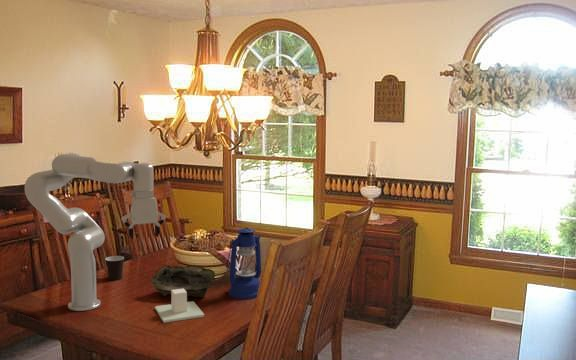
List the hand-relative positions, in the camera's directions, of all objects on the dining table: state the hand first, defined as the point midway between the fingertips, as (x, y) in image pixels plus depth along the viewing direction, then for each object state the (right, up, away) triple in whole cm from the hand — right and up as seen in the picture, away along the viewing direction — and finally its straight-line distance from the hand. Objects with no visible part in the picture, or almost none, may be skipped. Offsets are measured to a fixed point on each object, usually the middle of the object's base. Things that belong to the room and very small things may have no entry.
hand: (144, 237), depth 211 cm
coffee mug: (-26, -25, +45) cm, 57 cm away
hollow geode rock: (+12, -29, +21) cm, 38 cm away
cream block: (+14, -30, +1) cm, 33 cm away
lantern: (+38, -28, +27) cm, 55 cm away
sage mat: (+14, -31, +2) cm, 34 cm away
